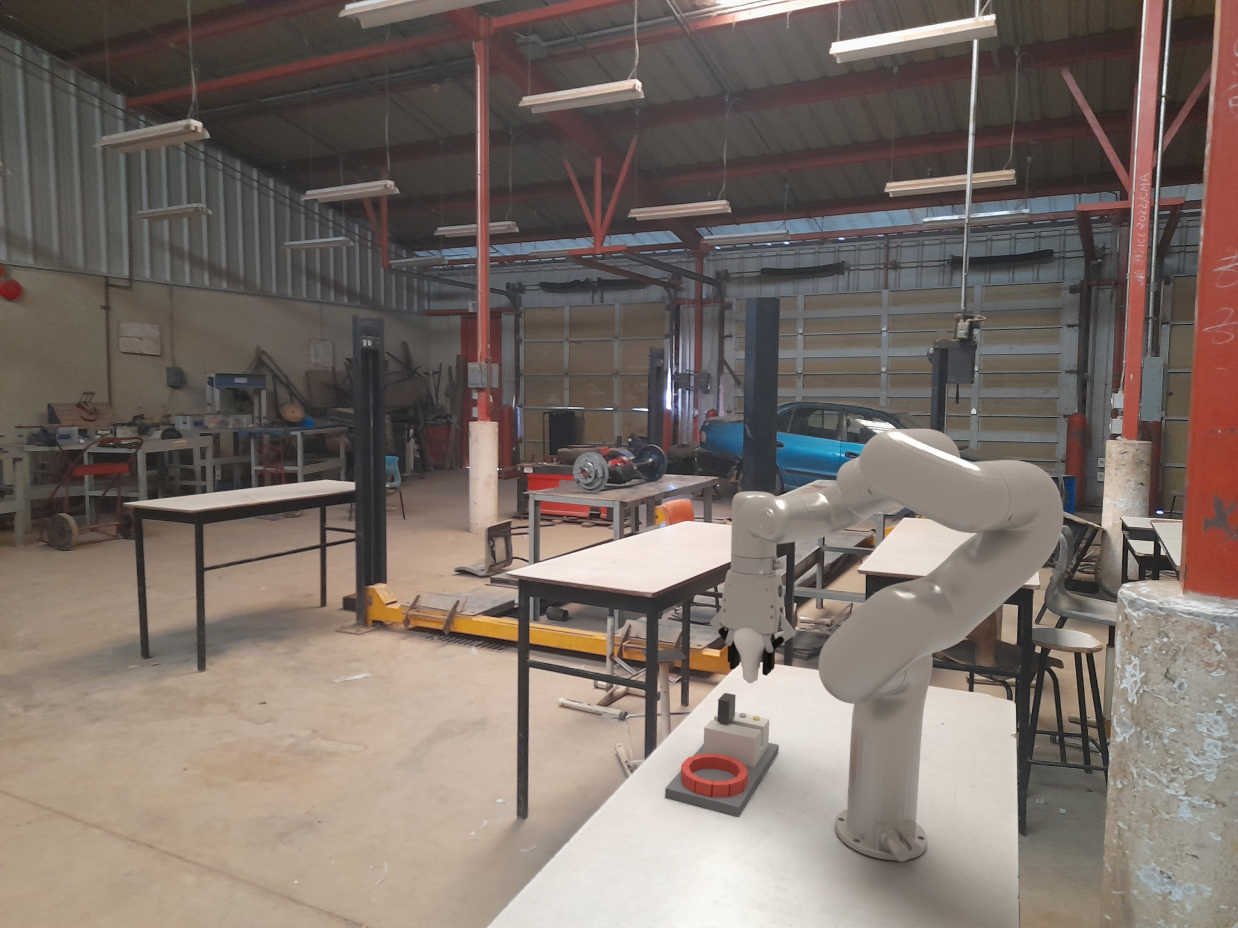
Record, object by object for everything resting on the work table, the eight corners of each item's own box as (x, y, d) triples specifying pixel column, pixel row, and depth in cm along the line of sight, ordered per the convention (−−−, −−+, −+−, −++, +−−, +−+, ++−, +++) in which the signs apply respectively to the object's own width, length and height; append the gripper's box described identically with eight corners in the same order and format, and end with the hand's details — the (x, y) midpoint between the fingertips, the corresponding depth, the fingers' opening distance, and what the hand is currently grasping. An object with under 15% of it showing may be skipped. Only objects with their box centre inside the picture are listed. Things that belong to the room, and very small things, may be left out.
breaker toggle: (727, 742, 135) (729, 701, 134) (716, 740, 136) (718, 699, 135) (734, 734, 138) (735, 694, 138) (723, 732, 139) (724, 692, 139)
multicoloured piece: (738, 816, 118) (740, 772, 117) (665, 797, 123) (666, 755, 122) (778, 752, 139) (780, 715, 139) (714, 738, 145) (715, 702, 144)
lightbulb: (767, 677, 136) (769, 615, 135) (769, 690, 130) (770, 625, 129) (732, 675, 137) (733, 614, 136) (732, 687, 131) (733, 623, 130)
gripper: (809, 566, 131) (806, 672, 132) (714, 556, 139) (712, 655, 141) (797, 574, 125) (793, 685, 126) (697, 563, 133) (695, 667, 134)
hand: (750, 668), depth 133 cm, fingers closed on lightbulb, 5 cm apart
